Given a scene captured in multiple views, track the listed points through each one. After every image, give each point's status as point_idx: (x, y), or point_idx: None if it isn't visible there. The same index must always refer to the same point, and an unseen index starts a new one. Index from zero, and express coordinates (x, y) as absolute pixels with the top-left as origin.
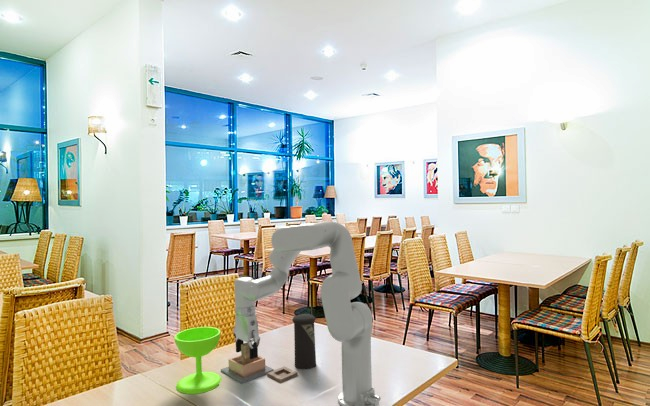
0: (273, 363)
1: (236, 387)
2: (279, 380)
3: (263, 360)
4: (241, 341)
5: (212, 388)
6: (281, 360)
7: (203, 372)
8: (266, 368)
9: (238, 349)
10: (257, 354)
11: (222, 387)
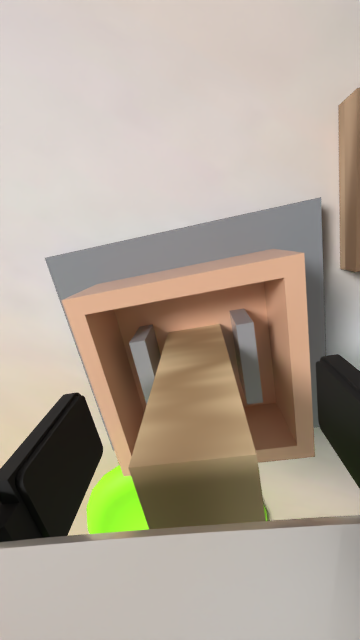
0: (165, 128)
1: (324, 439)
2: None
3: (300, 271)
4: (32, 502)
5: (265, 512)
6: (146, 28)
7: (107, 511)
8: (270, 238)
9: (90, 459)
10: (352, 368)
11: (277, 478)
